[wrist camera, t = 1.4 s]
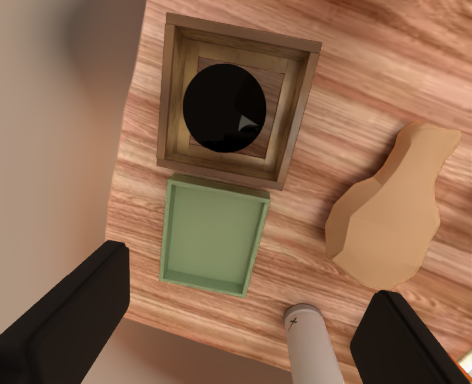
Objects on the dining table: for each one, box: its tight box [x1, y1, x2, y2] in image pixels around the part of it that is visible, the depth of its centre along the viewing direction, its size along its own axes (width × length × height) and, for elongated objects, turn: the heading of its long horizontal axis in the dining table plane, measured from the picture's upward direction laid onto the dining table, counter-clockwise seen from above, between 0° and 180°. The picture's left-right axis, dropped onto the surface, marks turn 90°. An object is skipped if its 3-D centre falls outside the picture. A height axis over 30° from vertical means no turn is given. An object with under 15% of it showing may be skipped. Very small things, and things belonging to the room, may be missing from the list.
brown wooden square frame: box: [157, 12, 322, 191], centre depth 26 cm, size 15×15×5 cm
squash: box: [325, 119, 461, 290], centre depth 27 cm, size 11×20×9 cm, turn 161°
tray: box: [159, 174, 270, 298], centre depth 33 cm, size 16×13×3 cm
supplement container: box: [183, 63, 266, 153], centre depth 23 cm, size 7×7×10 cm
